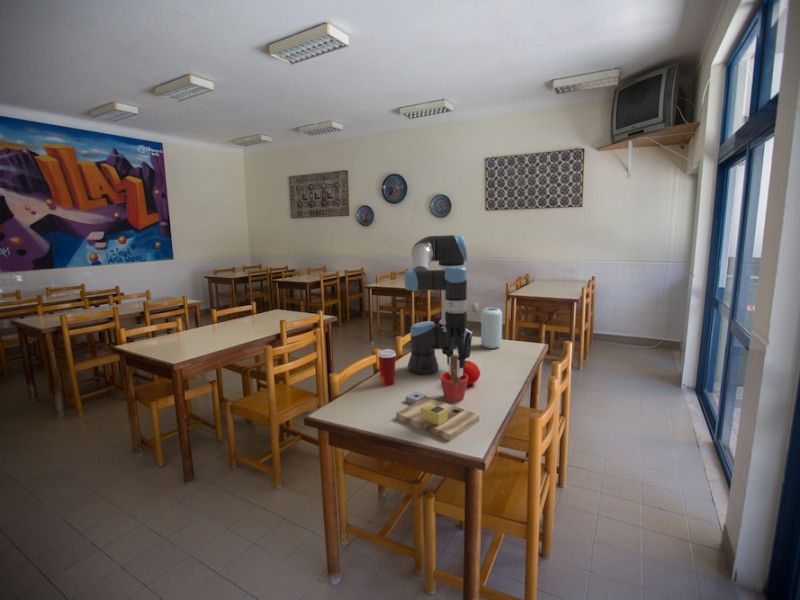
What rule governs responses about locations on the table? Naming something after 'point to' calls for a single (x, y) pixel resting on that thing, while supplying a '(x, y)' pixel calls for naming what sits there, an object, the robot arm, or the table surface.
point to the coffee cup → (387, 366)
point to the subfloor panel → (447, 430)
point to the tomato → (471, 372)
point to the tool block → (415, 397)
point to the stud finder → (434, 414)
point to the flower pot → (453, 387)
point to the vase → (491, 327)
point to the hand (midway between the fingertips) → (455, 374)
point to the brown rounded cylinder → (454, 369)
